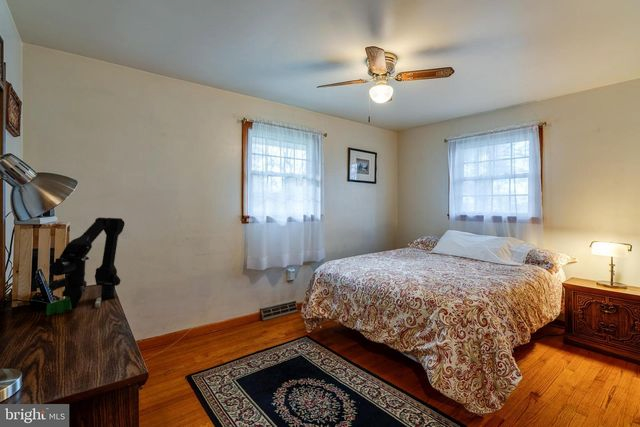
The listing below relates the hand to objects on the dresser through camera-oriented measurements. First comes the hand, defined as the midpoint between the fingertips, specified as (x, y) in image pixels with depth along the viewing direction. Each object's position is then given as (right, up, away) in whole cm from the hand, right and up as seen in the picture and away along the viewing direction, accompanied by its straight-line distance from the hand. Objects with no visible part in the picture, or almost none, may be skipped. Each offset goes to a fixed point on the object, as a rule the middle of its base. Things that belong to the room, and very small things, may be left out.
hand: (74, 308), depth 128 cm
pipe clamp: (-4, -1, -1) cm, 5 cm away
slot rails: (-4, -1, +5) cm, 6 cm away
